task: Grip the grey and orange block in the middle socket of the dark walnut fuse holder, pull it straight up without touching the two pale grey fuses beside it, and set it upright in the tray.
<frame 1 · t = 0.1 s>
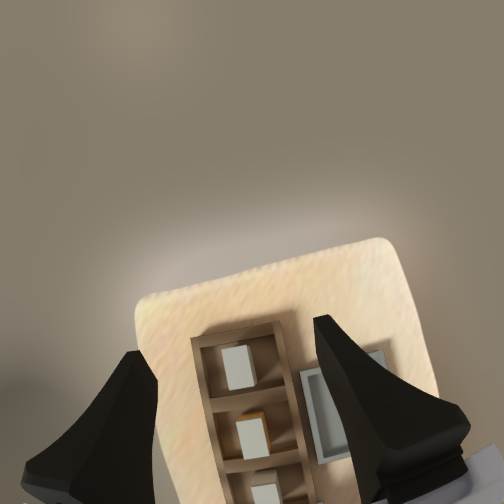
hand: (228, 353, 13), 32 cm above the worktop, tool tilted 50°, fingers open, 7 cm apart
tray: (349, 406, 39), on the worktop
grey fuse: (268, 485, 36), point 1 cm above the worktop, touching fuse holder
grey and orange block: (256, 429, 39), point 1 cm above the worktop, touching fuse holder
fuse holder: (256, 427, 39), on the worktop
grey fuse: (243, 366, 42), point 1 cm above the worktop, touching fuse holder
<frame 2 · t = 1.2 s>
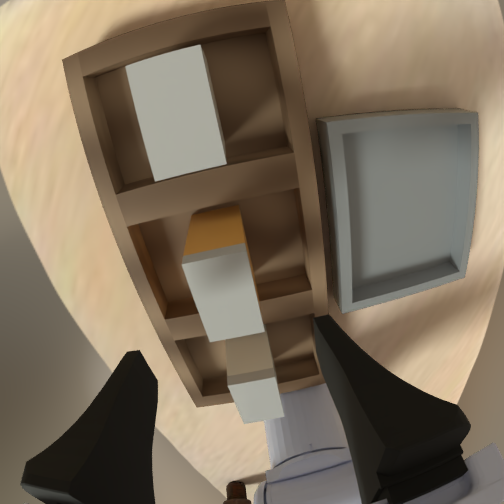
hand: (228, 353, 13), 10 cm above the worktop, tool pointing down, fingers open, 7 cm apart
tray: (401, 203, 22), on the worktop
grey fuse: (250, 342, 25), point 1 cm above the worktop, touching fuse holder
grey and orange block: (223, 245, 21), point 1 cm above the worktop, touching fuse holder
fuse holder: (223, 239, 22), on the worktop
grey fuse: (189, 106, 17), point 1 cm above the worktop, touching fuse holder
bolt: (235, 482, 43), on the worktop
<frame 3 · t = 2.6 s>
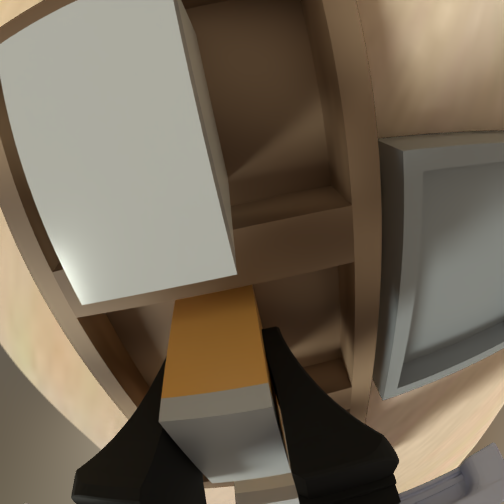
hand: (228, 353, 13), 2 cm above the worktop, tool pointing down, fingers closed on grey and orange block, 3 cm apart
tray: (468, 258, 14), on the worktop
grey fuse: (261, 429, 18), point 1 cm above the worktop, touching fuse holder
grey and orange block: (227, 330, 14), point 1 cm above the worktop, touching fuse holder, gripper
fuse holder: (227, 319, 14), on the worktop
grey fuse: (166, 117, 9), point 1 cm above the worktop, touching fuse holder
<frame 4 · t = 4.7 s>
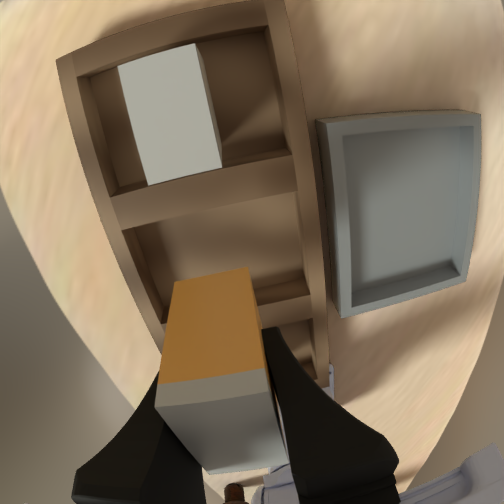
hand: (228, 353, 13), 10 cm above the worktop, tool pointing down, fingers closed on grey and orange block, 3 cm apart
tray: (401, 206, 21), on the worktop
grey and orange block: (225, 321, 14), point 8 cm above the worktop, touching gripper
fuse holder: (220, 243, 21), on the worktop
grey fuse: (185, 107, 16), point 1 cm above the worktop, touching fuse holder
bolt: (233, 485, 42), on the worktop
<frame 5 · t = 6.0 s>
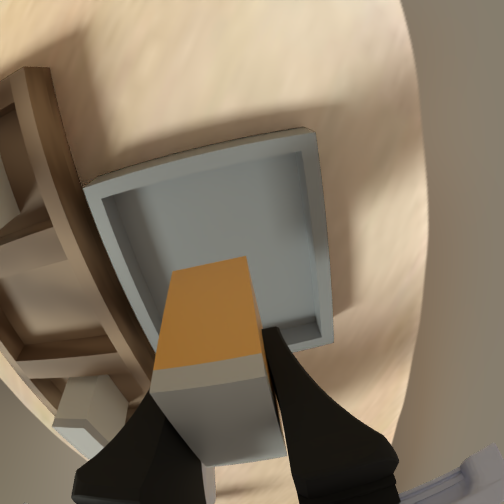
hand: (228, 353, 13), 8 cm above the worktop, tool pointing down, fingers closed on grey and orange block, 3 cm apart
tray: (224, 259, 19), on the worktop
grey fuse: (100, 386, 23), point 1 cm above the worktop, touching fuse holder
grey and orange block: (223, 312, 14), point 6 cm above the worktop, touching gripper
fuse holder: (49, 296, 19), on the worktop
when the fingers open (3 cm above the worktop, at t = 7.1 s): grey and orange block stays where it is, resting on tray.
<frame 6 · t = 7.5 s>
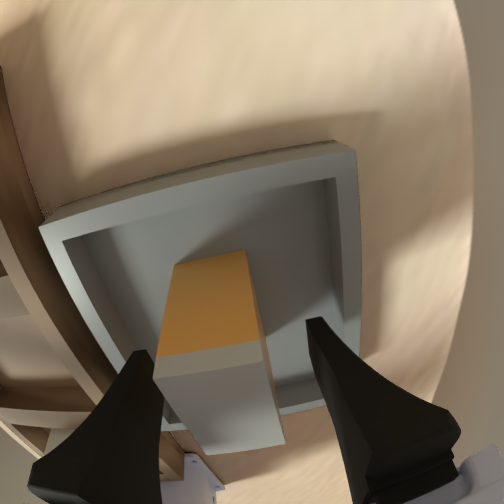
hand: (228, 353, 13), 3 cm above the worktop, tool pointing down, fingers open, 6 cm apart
tray: (226, 308, 15), on the worktop
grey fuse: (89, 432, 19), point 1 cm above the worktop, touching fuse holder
grey and orange block: (223, 305, 14), point 1 cm above the worktop, touching tray
fuse holder: (22, 340, 15), on the worktop
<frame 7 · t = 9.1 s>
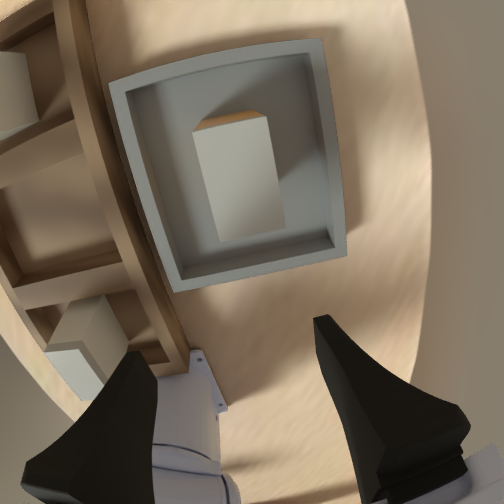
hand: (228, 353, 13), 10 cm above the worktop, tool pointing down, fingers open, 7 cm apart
tray: (236, 163, 19), on the worktop
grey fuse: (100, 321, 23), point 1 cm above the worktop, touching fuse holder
grey and orange block: (235, 155, 18), point 1 cm above the worktop, touching tray
fuse holder: (56, 213, 19), on the worktop
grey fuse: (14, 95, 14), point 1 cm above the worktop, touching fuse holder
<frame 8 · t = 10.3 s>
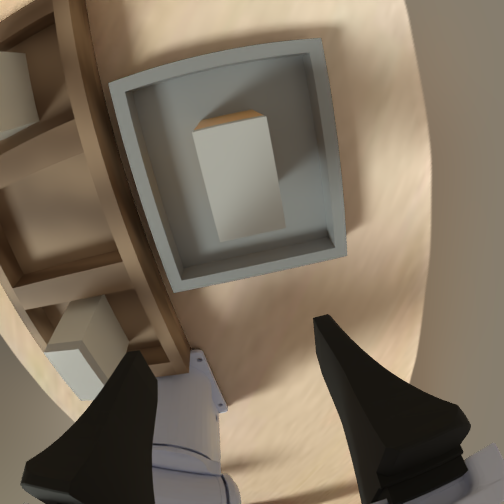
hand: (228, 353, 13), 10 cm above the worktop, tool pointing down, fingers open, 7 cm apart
tray: (236, 163, 19), on the worktop
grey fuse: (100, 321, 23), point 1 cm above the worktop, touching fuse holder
grey and orange block: (235, 155, 18), point 1 cm above the worktop, touching tray
fuse holder: (56, 213, 19), on the worktop
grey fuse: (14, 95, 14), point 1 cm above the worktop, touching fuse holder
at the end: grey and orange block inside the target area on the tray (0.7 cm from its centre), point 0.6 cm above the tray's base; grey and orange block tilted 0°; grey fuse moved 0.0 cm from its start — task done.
